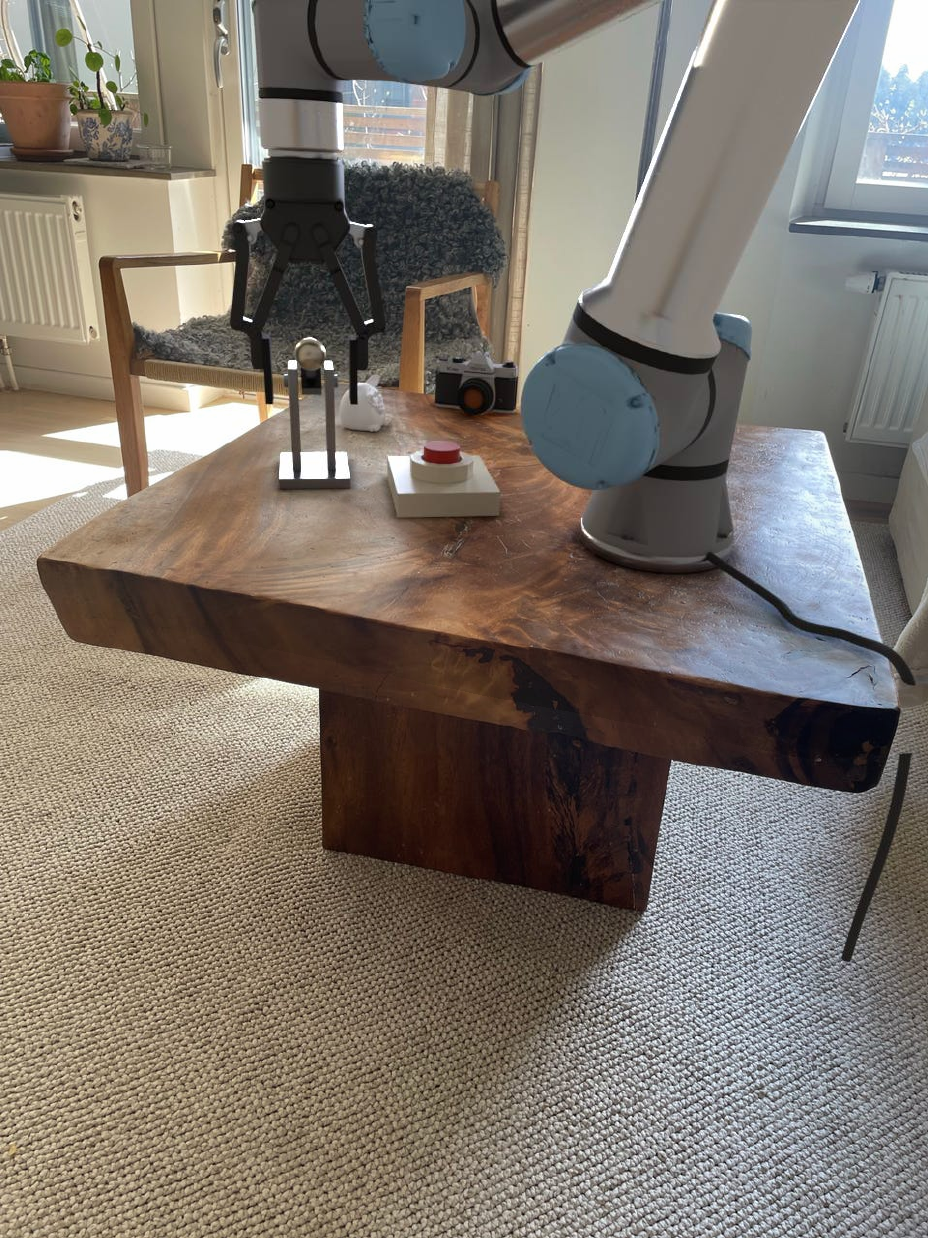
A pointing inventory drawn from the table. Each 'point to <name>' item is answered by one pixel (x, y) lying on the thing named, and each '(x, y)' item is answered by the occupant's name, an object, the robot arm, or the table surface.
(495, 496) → the control block
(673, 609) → the table surface
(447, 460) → the stop button
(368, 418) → the figurine
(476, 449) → the table surface
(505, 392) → the camera
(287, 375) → the grey metal frame
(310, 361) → the lever
